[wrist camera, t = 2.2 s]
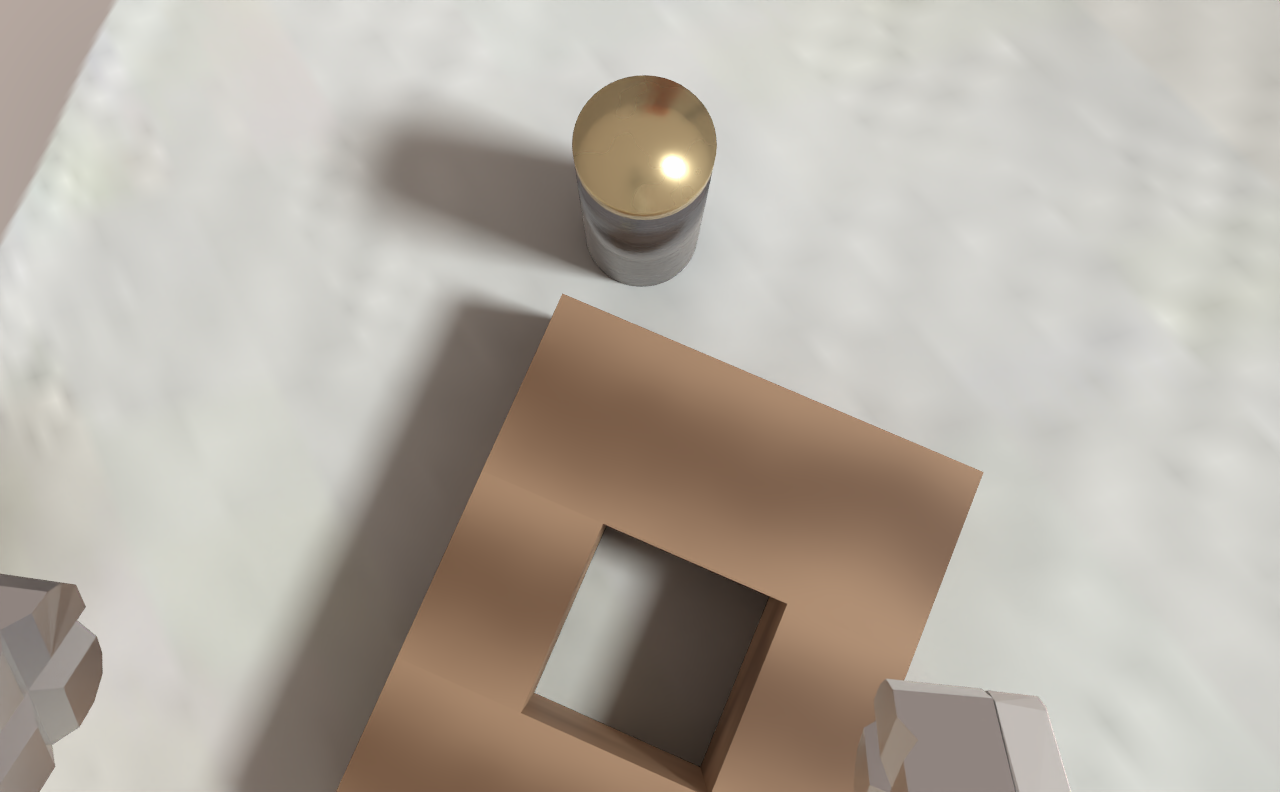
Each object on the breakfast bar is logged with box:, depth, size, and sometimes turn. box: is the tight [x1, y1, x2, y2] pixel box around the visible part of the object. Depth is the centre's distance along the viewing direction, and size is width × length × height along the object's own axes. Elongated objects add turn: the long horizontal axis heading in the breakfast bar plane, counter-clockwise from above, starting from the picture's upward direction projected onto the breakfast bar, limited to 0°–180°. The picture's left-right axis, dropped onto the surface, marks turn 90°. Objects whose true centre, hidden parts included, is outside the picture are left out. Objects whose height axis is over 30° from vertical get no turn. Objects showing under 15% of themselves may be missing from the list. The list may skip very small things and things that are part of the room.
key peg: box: [572, 75, 717, 287], centre depth 32 cm, size 4×4×8 cm
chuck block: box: [336, 294, 983, 792], centre depth 32 cm, size 18×14×4 cm
